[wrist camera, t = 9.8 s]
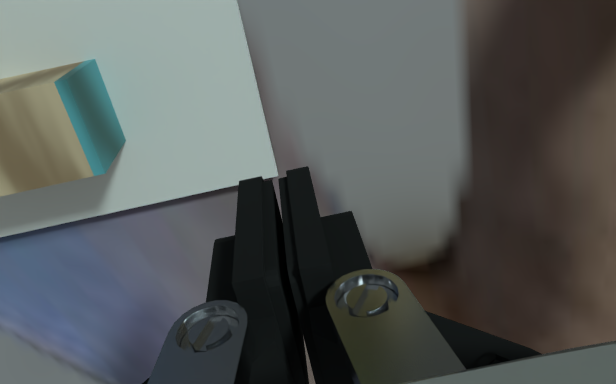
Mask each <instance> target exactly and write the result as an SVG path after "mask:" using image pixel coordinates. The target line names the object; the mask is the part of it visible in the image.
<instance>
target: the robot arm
mask: <svg viewBox="0 0 616 384" xmlns="http://www.w3.org/2000/svg"><path fill="white" fill-rule="evenodd" d="M286 174H287V177H284V178H279V189H280V199H281V210H282V219H281V215H280V210H279V206H278V202H277V198H276V194H275V190H274V186H273V183H272V180H270V181H265V182H264V181H263V178H262V176H260V177H255V178H250V179H245V180H241V181H239V187H238V201H237V216H236V230H235V235H234V236H229V237H225V238H220V239H216V240H215V242H214V248H213V255H212V262H211V269H210V277H209V284H208V291H207V298H206V303H203V304H201V305H198V306H196V307H193V308H192V309H190V310H189V311H187V312H186V313H184V314H183V315H182V316H181V317H180V318H179V319H178V320H177V321H176V322H174V324H173V326H172V327H171V329H170V331H169V332H168V335H167V337H166V340H165V342H164V344H163V347H162V349H161V352H160V354H159V357H158V359H157V361H156V364H155V366H154V369H153V371H152V373H151V376H150V377H149V378H148V379H147V380H146V381H145V382H144V383H142V384H309V380H308V372H307V363H306V355H305V347H304V340H305V344H306V347H307V351H308V355H309V359H310V363H311V367H312V371H313V375H314V379H315V383H316V384H616V341H611V342H605V343H599V344H593V345H587V346H582V347H576V348H570V349H565V350H561V351H556V352H551V353H546V354H541V353H539V352H537V351H535V350H532V349H530V348H527V347H525V346H522V345H519V344H516V343H513V342H511V341H508V340H505V339H502V338H499V337H497V336H494V335H491V334H488V333H486V332H483V331H480V330H477V329H474V328H472V327H469V326H466V325H463V324H460V323H458V322H455V321H452V320H449V319H446V318H444V317H441V316H438V315H435V314H432V313H430V312H427V311H424V309H423V308H422V307H421V305H420V304H419V302H418V301H417V300H416V298H415V297H414V295H413V294H412V293H411V291H410V290H409V288H408V287H407V286H406V284H405V283H404V282H403V281H402V280H401V279H400V278H399V277H398V276H397V275H394V274H392V273H390V272H388V271H384V270H379V269H372V266H371V264H370V261H369V258H368V255H367V252H366V250H365V247H364V244H363V241H362V238H361V236H360V233H359V230H358V227H357V224H356V222H355V219H354V216H353V213H352V211H348V212H344V213H339V214H334V215H329V216H325V217H320V214H319V210H318V206H317V201H316V197H315V193H314V189H313V184H312V180H311V176H310V172H309V167H308V166H307V167H302V168H298V169H293V170H288V171H286ZM282 220H283V223H282ZM303 336H304V339H303Z"/></svg>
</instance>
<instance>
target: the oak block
mask: <svg viewBox="0 0 616 384" xmlns="http://www.w3.org/2000/svg"><path fill="white" fill-rule="evenodd" d="M125 141H126V139H125V136H124V134H123V131H122V129H121V126H120V123H119V121H118V118H117V115H116V113H115V110H114V108H113V105H112V102H111V100H110V97H109V94H108V92H107V89H106V86H105V84H104V81H103V79H102V76H101V73H100V71H99V68H98V65H97V63H96V60H95V59H92V60H87V61H82V62H78V63H73V64H68V65H64V66H59V67H54V68H50V69H45V70H40V71H36V72H31V73H26V74H21V75H17V76H12V77H7V78H3V79H0V197H1V196H5V195H10V194H15V193H19V192H24V191H28V190H33V189H37V188H42V187H47V186H51V185H56V184H60V183H65V182H69V181H74V180H79V179H83V178H88V177H92V176H97V175H101V174H106V172H107V170H108V169H109V167H110V166H111V164H112V162H113V161H114V159H115V158H116V156H117V154H118V153H119V151H120V149H121V148H122V146H123V145H124V143H125Z"/></svg>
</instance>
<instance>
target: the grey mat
mask: <svg viewBox="0 0 616 384" xmlns="http://www.w3.org/2000/svg"><path fill="white" fill-rule="evenodd" d="M92 59H95V60H96V63H97V65H98V68H99V71H100V73H101V76H102V79H103V81H104V84H105V86H106V89H107V92H108V94H109V97H110V100H111V102H112V105H113V108H114V110H115V113H116V115H117V118H118V121H119V123H120V126H121V129H122V131H123V134H124V136H125V139H126V141H125V143H124V145H123V146H122V148H121V149H120V151H119V153H118V154H117V156H116V158H115V159H114V161H113V162H112V164H111V166H110V167H109V169H108V170H107V172H106V174H101V175H97V176H92V177H88V178H83V179H79V180H74V181H69V182H65V183H60V184H56V185H51V186H47V187H42V188H37V189H33V190H28V191H24V192H19V193H15V194H10V195H5V196H1V197H0V237H4V236H9V235H13V234H18V233H22V232H27V231H32V230H36V229H41V228H45V227H50V226H54V225H59V224H63V223H68V222H72V221H77V220H81V219H86V218H90V217H95V216H99V215H104V214H108V213H113V212H118V211H122V210H127V209H131V208H136V207H140V206H145V205H149V204H154V203H158V202H163V201H167V200H172V199H176V198H181V197H185V196H190V195H194V194H199V193H204V192H208V191H213V190H217V189H222V188H226V187H231V186H235V185H239V181H241V180H245V179H250V178H255V177H260V176H262V178H263V179H267V178H271V177H276V176H278V171H277V167H276V163H275V159H274V154H273V150H272V146H271V142H270V137H269V133H268V129H267V125H266V121H265V116H264V112H263V108H262V104H261V99H260V95H259V91H258V87H257V83H256V78H255V74H254V70H253V66H252V61H251V57H250V53H249V49H248V45H247V40H246V36H245V32H244V28H243V23H242V19H241V15H240V11H239V7H238V2H237V0H0V79H3V78H7V77H12V76H17V75H21V74H26V73H31V72H36V71H40V70H45V69H50V68H54V67H59V66H64V65H68V64H73V63H78V62H82V61H87V60H92Z"/></svg>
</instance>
